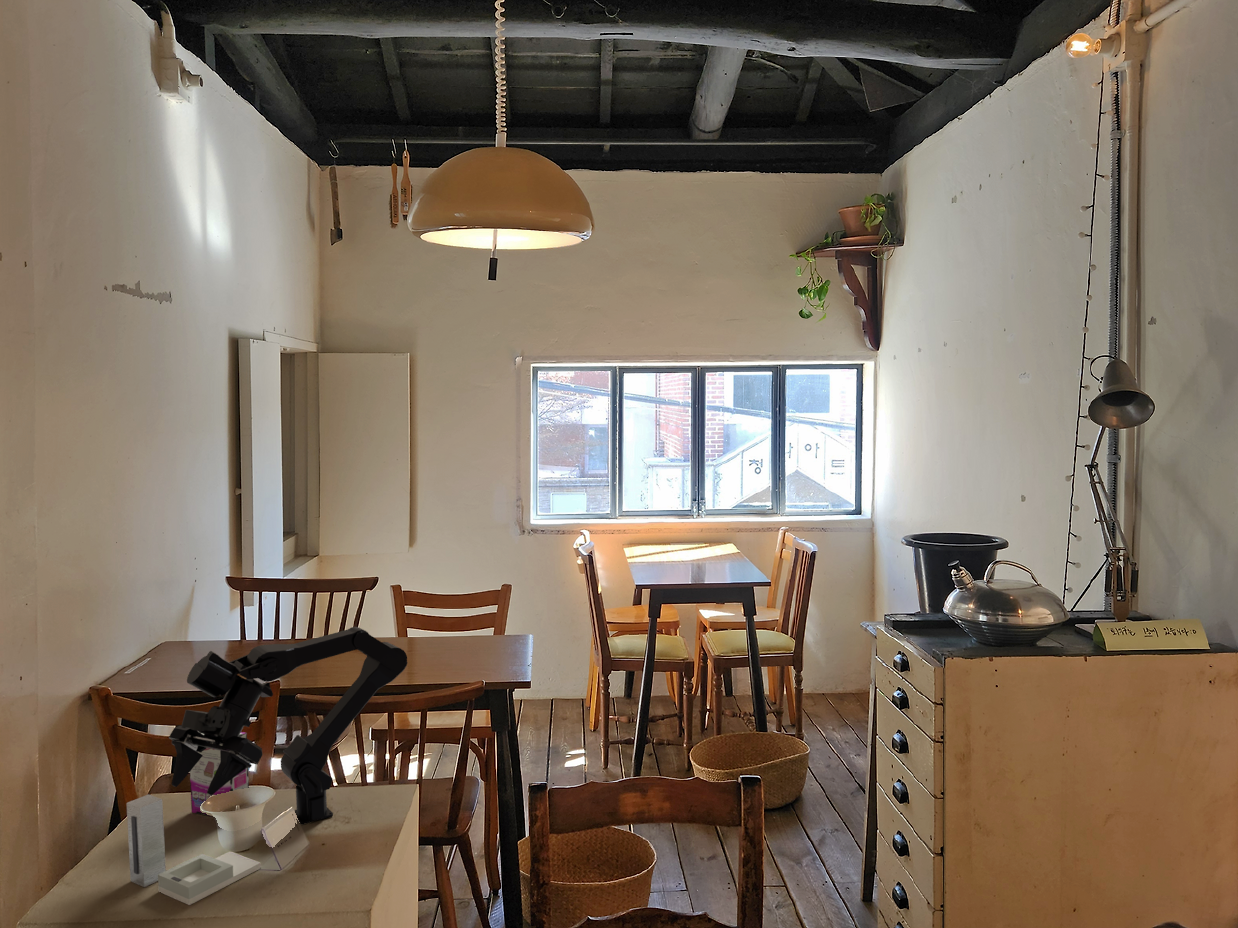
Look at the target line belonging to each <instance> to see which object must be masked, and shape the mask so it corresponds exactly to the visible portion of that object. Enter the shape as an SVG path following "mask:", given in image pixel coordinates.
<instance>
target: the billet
mask: <svg viewBox="0 0 1238 928" xmlns="http://www.w3.org/2000/svg"><path fill="white" fill-rule="evenodd" d="M163 804H164V803H163V799H162V798H161V797H157V796H154V795H151V794H146V795H143V796H140V797H138V798H136V799H134V800H133V799H132V800H130V801H128V802H126V817H127V819H126V821H127V837H128V838H127V840H128V852H129V853H128V857H129V858H128V859H129V873H130V874H129V877H130V882H132V883H134V884H136V885H138V886H141V887H143V888H146V887H148V886H150V885H153V884H155V883H158V874H160V873H162V872H164V871H166V870H167V868H166V867H167V866H166V865H167V864H166V850H165V848H166V846H165V828H164V810H163V809H164V808H163V807H164V806H163Z"/></svg>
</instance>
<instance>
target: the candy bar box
mask: <svg viewBox="0 0 1238 928" xmlns="http://www.w3.org/2000/svg"><path fill="white" fill-rule="evenodd" d="M201 734H203V733H201ZM203 735H204V734H203ZM247 735H248V733H247V732H244V731H243V732H242V731H241V733H240V735H239V736H238V737H242V738H247V739H248V737H247ZM211 744H213V743H211ZM220 745H221V744H220ZM221 746H222V745H221ZM220 751H221V750H216V749H211V748H206V749H205V750H204V751H202V752H201V753H200V752H198V753H200V754H202V755H203V756H202V757H201V759H200V760H199V761H198V762H197V764H196V765H195V766H194V767H193V768H192V770H191V771H190V772H189V782H190V803H191V804H190V805H191V808H190V809H191V812H192V813H193V814H196V815H202V816H206V817H207V816H208V817H210V816H209V815H207V814H206V813H202V812H201V811H200V806H201V804H202V803H203V802H204V801H206V800H207V799H208V798H209V797H210V796H212V795H209V794H207V791H208V788H209V785H210V783H211V781H212V779H213V777H214V775H215V773H216V771H217V769H218V767H219V765H220V762H221V758H220ZM249 783H250V779H249V768H246V769H245V770H243V771H242V772H241V773H239V774H238V775H236V776H235V777H234V778H232V779H231V780H230V781H229V782H227V783H226V784H225V785H224V786H223V787H221V788H220V789H219V790H218V791H217V792H215V793H214V794H213V795H217V794H221V793H226V792H229V791H234V790H237V789H244V788H249V789H250V784H249Z"/></svg>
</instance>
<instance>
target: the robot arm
mask: <svg viewBox="0 0 1238 928" xmlns="http://www.w3.org/2000/svg"><path fill="white" fill-rule="evenodd" d="M353 651H359V652H360V653H362V654H363V655H365V659H364V661H363V664H362V667H361V670H360V673H359V675H358V677H357V678H356V680H355V681H354V682H353V683H352V684H351V685H350V687H349V688H348V689H347V690H346V691H345V693H344V694H343V695H342V696H341V697H340V699H339V700H338V701H337V703H335V705H334V706H333V707H332V709H330V710H329V712H328V713H327V714H326V716H325V717H324V718H323V719H322V720H321V722H320V723H319V724H318V726H317V727H316V728H315V729H314V730H313V732H311V733H310V734H308V735H306V736H305V737H302V736H301V735H299V734H297V735H295V737H294V738H293V739H292V741H291V743H290V744H289V745H288V747H286V748H284V749H283V750H282V752H283V753H284V754H283V756H281V758H280V769H281V771H282V773H283V774H284V775H285V776H286V777H287V778H289V780H290V781H291V782H292V783H294V785H296V786H295V799H296V809H294V810H295V813H296V815H297V818H298V820H299V822H300V823H299V822H298V823H299V825H307V824H308V823H313V822H316V821H320V820H324V819H328V818H330V817H333V816H334V812H333V811H332V810H331V809H329V807H327V806H328V805H327V790H330V788H331V786H332V783H333V778H332V776H330V775H329V774H328V773H327V772H326V771H324V770H323V768H324V767H325V765H326V763H327V760H328V757H329V754H330V750H331V749H332V747H333V746H334V744H335V743H336V742H337V741H338V740H339V738H340V737H341V736H342V734H343V733H344V732H345V731H346V730H347V729H348V727H349V726H350V725H351V723H352V722H353V721H354V720H355V719H356V717H357V716H358V714H360V712H361V711H362V710H363V708H364V707H365V706H366V705H367V704H368V702H369V701H370V700H371V699H372V697H374V695H375V694H376V692H377V691H378V690H379V689H381V688H383V687H385V686H387V685H388V684H391V682H393V681H394V680H395V679H396V678H398V676H399V675H400V674H401V673H403V672H404V671H405V669H406V668H407V665H408V656H407V653H406V652H405V650H404V649H402V648H401V647H398V646H396V645H394V644H392V643H391V642H388V641H381V640H379V639H377V638H376V637H374V636H373V635H371V634H369V632H368V631H367V630H365V629H363V628H360V627H358V626H352V627H350V628H348V629H345V630H342V631H341V630H340V631H337V632H333V633H331V634H329V633H328V634H326V635H321V636H318V637H316V638H311V639H307V640H303V641H299V642H296V643H282V644H281V643H274V644H264V645H257V646H255V647H253V648H252V649H250V652H249V653H248V654H246V655H243V656H240V657H239V658H236V659H234V660H233V659H232V660H230V661H228V660H226V659H224V658H222V657H221V656H220V655H219V654H217V653H216V652H214V651H212V650H210V651H208V653H207V655H205V656H203V657H202V658H200V659H199V660H198V661H197V662H195V663H194V664H193V666H192V667H191V669H190V671H189V673H188V674H187V677H186V678H187V679H186V682H187V684H188V685H190V686H192V687H194V688H195V689H197V690H200V691H201V692H203V693H205V694H206V695H208V696H211V697H213V698H217V697H219V696H221V697H222V696H224V697H223V699H222V700H221V702H220V704H219V705H218V706H217V705H213V706H212V707H211V708H210V709H209V711H199V710H190V709H185V711H184V716H183V719H182V722H181V725H178V726H176V727H174V728H173V729H172V731H171V732H170V734H169V736H168V739H169V740H171V745H173V746H174V749H175V752H176V757H175V759H176V760H175V764H174V770H173V775H172V780H171V785H172V786H173V787H175V788H176V787H178V786H179V785H180V784H181V783H182V782H183V781H184V780H185V778H186V777H187V776H188V775H189V774H190V771H191V770H192V768H193V767H194V766H195V765H196V764H197V762H198V761H199V760H200V759H201V757H202V756H203V755H202V754H200V753H201V752H202V751H204V750H205V749H206V748H211V749H216V750H221V751H220V758H221V762H220V765H219V767H218V769H217V771H216V773H215V775H214V777H213V779H212V781H211V783H210V785H209V788H208V791H207V794H209V795H213V794H214V793H215V792H217V791H218V790H219V789H220V788H221V787H223V786H224V785H225V784H226V783H227V782H229V781H230V780H231V779H232V778H234V777H235V776H236V775H238V774H239V773H241V772H242V771H243V770H245V769H246V768H248V769H250V768H252V766H253V765H259V762H260V760H262V759H261V758H262V757H263V748H262V747H261V746H260V745H258V744H257V743H254V742H253V741H251V740H250V739H248V737H247V738H242V737H238V736H239V735H240V733H241V732H242V730H243V729H244V727H246V728H247V727H248V728H249V727H251V724H252V721H251V720H249V717H251V714H252V712H253V711H254V708H255V706H256V704H257V703H258V701H259V699H260V697H261V698H268V697H269V698H270V697H273V696H274V692H273V690H272V688H271V684H270V682H273V681H276V680H278V679H280V678H282V677H284V676H286V675H288V674H289V675H290V673H292V672H293V671H294V670H295V669H297V668H299V667H301V666H303V665H306V664H310V663H314V662H319V661H320V660H325V659H328V658H331V657H332V658H333V657H335V656H338V655H342V654H346V653H350V652H353ZM256 679H259V680H260V681H263V682H262V683H261V682H259V681H258V680H256ZM201 733H203V734H204V735H203V734H201ZM211 743H213V744H211ZM220 744H221V745H222V746H221V745H220ZM198 752H200V753H198Z"/></svg>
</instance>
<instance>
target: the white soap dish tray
mask: <svg viewBox="0 0 1238 928" xmlns="http://www.w3.org/2000/svg"><path fill="white" fill-rule="evenodd" d="M261 868H262V865H261V862H260V861H258V860H254V859H252V858H249V857H246V856H243V855H241V854H239V853H237V852H233V851H230V850H229V851H228V852H225V853H223V854H222V855H221V854H220V855H219V856H217V857H213V856H210V855H206V854H204V853H200V854H198V855H196V856H194V857H191V858H190V859H188V860H185V861H183V862H181V863H179V864H177V865H176V866H173V867H170V868H169V869H166V871H164V872H162V873H160V874H158V881H157V883H158V887H157V888H158V892H159V893H160V892H161V894H164V895H165V896H168V897H170V898H171V899H173V900H174V899H175V900H176V901H179V902H181V903H184V904H186V905H188V906H191V905H193V904H194V903H197V902H199V901H200V900H202V899H204V898H206V897H208V896H210V895H211V894H215V892H217V891H220V890H222V889H223V888H225V887H228V886H229V885H231V884H233V883H235V882H236V881H238V880H240V879H242V878H245V877H247V876H249V875H250V874H252V873H254V872H256V871H258V870H261Z"/></svg>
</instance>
